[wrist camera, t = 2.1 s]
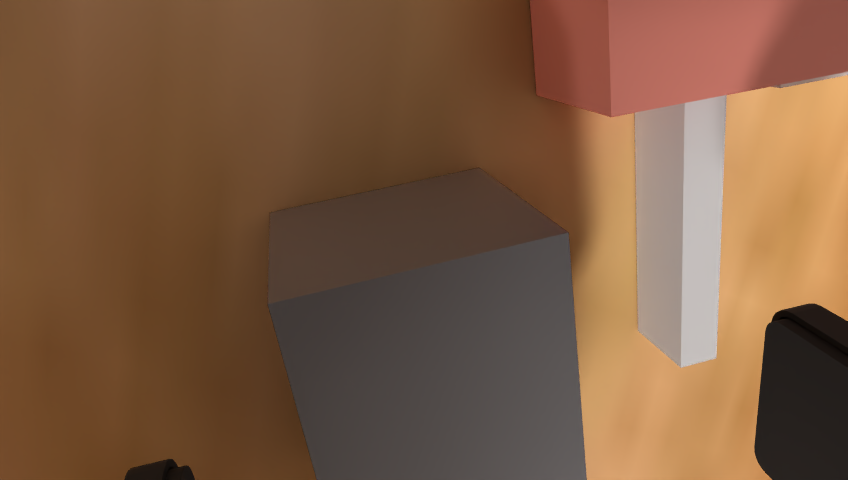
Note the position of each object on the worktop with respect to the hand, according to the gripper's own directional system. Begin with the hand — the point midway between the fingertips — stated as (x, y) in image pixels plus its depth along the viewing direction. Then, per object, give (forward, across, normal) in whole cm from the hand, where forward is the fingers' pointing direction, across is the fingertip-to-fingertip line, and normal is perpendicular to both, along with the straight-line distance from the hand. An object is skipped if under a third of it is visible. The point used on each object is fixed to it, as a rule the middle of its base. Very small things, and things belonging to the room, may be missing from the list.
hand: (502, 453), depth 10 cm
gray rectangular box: (+6, +1, +1) cm, 6 cm away
